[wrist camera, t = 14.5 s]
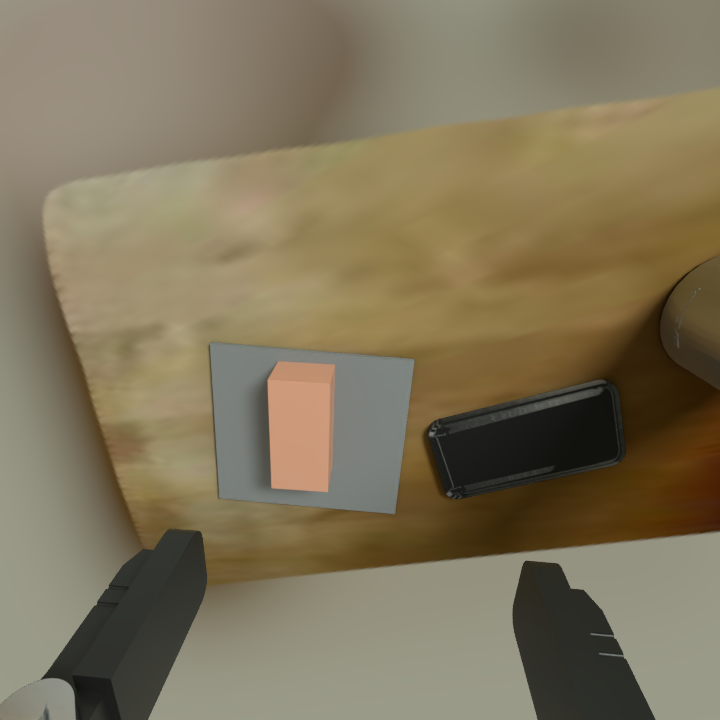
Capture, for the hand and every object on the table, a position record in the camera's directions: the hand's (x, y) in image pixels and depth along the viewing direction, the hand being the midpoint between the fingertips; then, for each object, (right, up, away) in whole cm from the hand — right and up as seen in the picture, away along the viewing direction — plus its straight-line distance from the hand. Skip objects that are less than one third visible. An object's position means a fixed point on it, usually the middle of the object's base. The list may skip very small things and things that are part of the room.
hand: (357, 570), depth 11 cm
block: (-5, -4, +26) cm, 26 cm away
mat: (-4, -1, +26) cm, 27 cm away
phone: (+14, -1, +26) cm, 30 cm away
